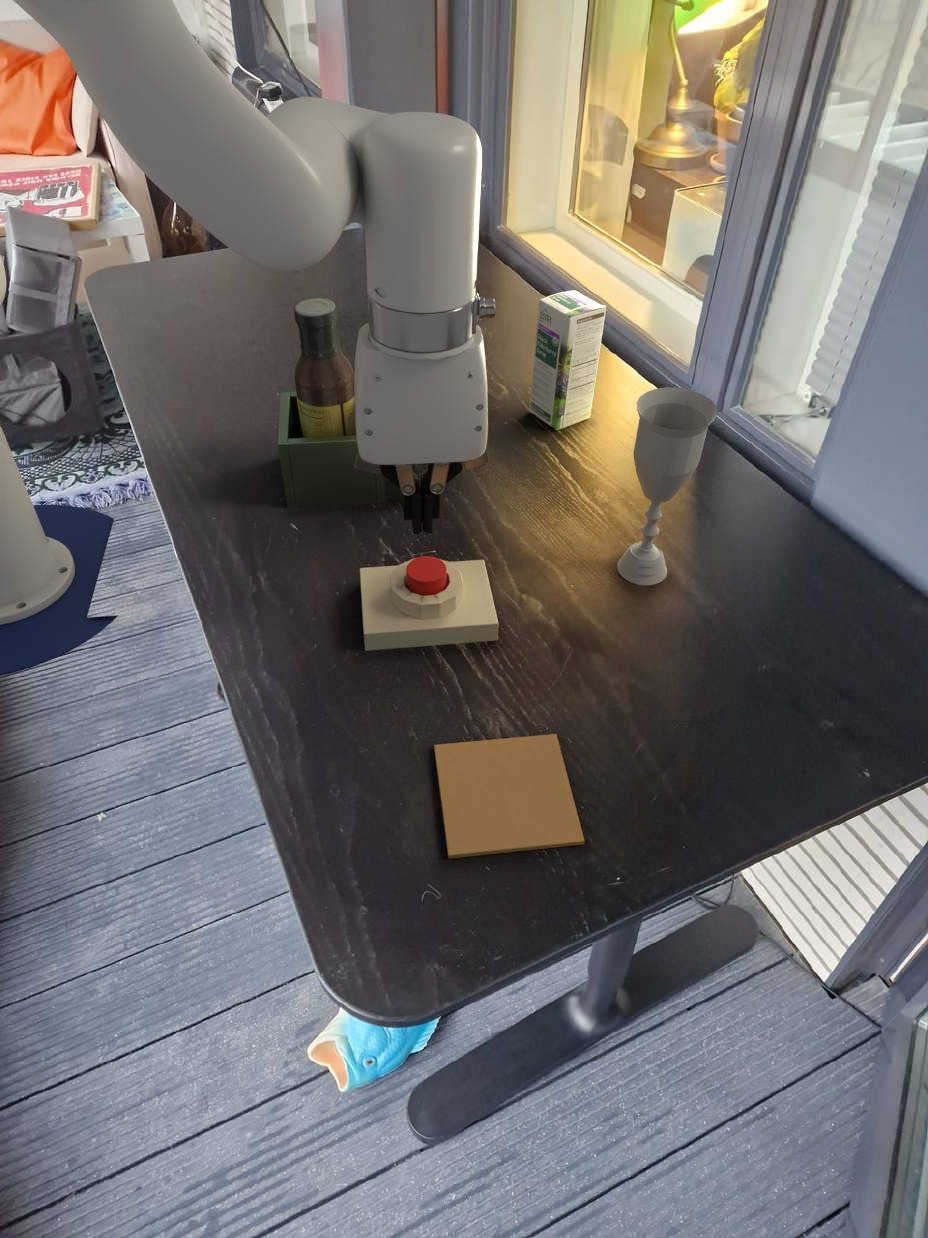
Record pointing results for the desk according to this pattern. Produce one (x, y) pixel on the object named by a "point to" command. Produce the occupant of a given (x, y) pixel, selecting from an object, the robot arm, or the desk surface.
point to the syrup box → (566, 358)
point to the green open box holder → (324, 467)
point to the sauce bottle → (323, 373)
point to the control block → (427, 608)
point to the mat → (505, 796)
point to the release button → (426, 575)
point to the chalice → (664, 466)
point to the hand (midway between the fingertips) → (421, 523)
